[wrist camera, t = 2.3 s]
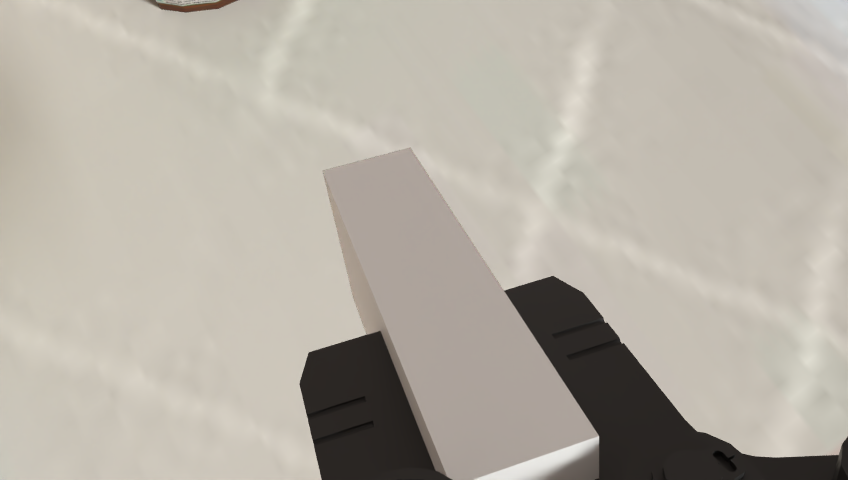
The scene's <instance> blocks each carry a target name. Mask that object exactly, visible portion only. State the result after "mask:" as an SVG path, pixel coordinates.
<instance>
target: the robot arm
mask: <svg viewBox="0 0 848 480" xmlns="http://www.w3.org/2000/svg"><path fill="white" fill-rule="evenodd" d="M323 174H324V178H325V182H326V187H327V191H328V195H329V199H330V203H331V207H332V211H333V216H334V220H335V224H336V228H337V232H338V236H339V240H340V245H341V249H342V253H343V257H344V261H345V265H346V269H347V274H348V278H349V282H350V286H351V290H352V294H353V298H354V301H355V304H356V307H357V310H358V312H359V315H360V318H361V320H362V323H363V326H364V329H365V331H366V334H367V335H365V336H361V337H358V338H355V339H352V340H348V341H345V342H342V343H338V344H335V345H332V346H329V347H325V348H322V349H319V350H315V351H312V352H309V353H308V357H307V360H306V363H305V367H304V370H303V374H302V377H301V380H300V388H301V392H302V396H303V401H304V405H305V409H306V413H307V417H308V422H309V426H310V431H311V435H312V439H313V443H314V448H315V452H316V456H317V461H318V465H319V469H320V474H321V478H322V480H848V437H847V438H846V440H845V441H844V442H843V444H842V446H841V450H840V453H839V455H830V456H805V457H781V458H773V457H755V456H750V455H746V454H742V453H740V452H739V451H738V450H737V449H736V448H734V447H733V446H732V445H731V444H729V443H727V442H725V441H723V440H720V439H718V438H716V437H713V436H711V435H709V434H707V433H702V432H697V431H696V430H695V429H694V428H693V427H692V426H691V425H690V424H689V423H688V422H687V421H686V420H685V419H684V418H683V417H682V416H681V414H680V413H679V412H678V411H677V409H676V408H675V407H674V406H673V404H672V403H671V402H670V401H669V399H668V398H667V397H666V396H665V394H664V393H663V392H662V391H661V389H660V388H659V387H658V386H657V384H656V383H655V382H654V381H653V379H652V378H651V377H650V376H649V374H648V373H647V372H646V370H645V369H644V368H643V367H642V365H641V364H640V363H639V362H638V360H637V359H636V358H635V357H634V355H633V354H632V353H631V352H630V350H629V349H628V348H627V347H626V345H625V344H624V343H623V344H621V342H620V338H619V337H618V335H617V334H616V333H615V332H614V330H613V329H612V328H611V327H610V325H609V324H608V323H605V322H604V319H603V317H602V315H601V314H600V313H599V312H598V310H597V309H596V308H595V307H594V305H593V304H592V303H591V302H590V300H589V299H588V298H587V297H586V295H585V294H584V293H583V292H581V291H579V290H577V289H575V288H574V287H572V286H570V285H568V284H567V283H565V282H563V281H561V280H559V279H558V278H556V277H554V276H551V277H548V278H545V279H541V280H538V281H535V282H531V283H528V284H525V285H521V286H518V287H515V288H512V289H508V290H505V291H504V290H503V289H502V287H501V285H500V284H499V282H498V281H497V279H496V278H495V276H494V275H493V273H492V272H491V270H490V269H489V267H488V266H487V264H486V263H485V261H484V260H483V258H482V256H481V255H480V253H479V252H478V250H477V249H476V247H475V246H474V244H473V243H472V241H471V240H470V238H469V237H468V235H467V234H466V232H465V230H464V229H463V227H462V226H461V224H460V223H459V221H458V220H457V218H456V217H455V215H454V214H453V212H452V211H451V209H450V208H449V206H448V204H447V203H446V201H445V200H444V198H443V197H442V195H441V194H440V192H439V191H438V189H437V188H436V186H435V185H434V183H433V182H432V180H431V179H430V177H429V175H428V174H427V172H426V171H425V169H424V168H423V166H422V165H421V163H420V162H419V160H418V159H417V157H416V156H415V154H414V153H413V151H412V149H411V148H407V149H403V150H399V151H395V152H392V153H388V154H384V155H380V156H376V157H373V158H369V159H365V160H361V161H357V162H354V163H350V164H346V165H342V166H338V167H335V168H331V169H327V170H323Z"/></svg>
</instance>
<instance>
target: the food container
mask: <svg viewBox="0 0 848 480" xmlns="http://www.w3.org/2000/svg"><path fill="white" fill-rule="evenodd" d="M235 1H238V0H156V2H157V3H158V5H159V6H160V8H161V9H164V10H172V11H179V12H194V11H203V10H211V9H219V8H221V7H224V6H226V5H228V4H231V3H233V2H235Z"/></svg>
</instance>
